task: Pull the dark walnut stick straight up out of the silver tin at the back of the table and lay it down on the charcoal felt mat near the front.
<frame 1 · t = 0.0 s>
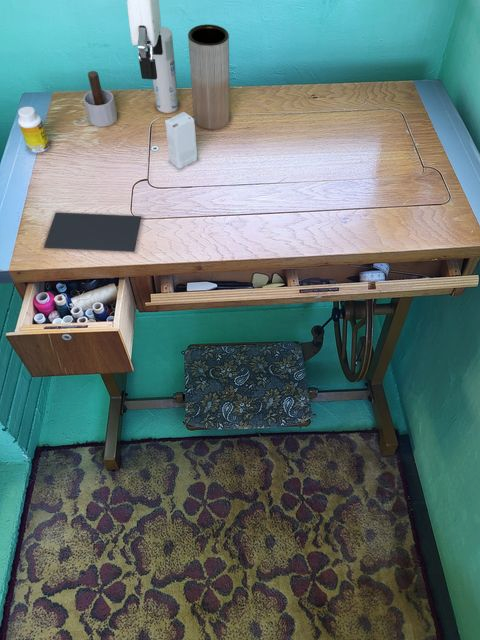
hand: (152, 66, 113), 26 cm above the table, tool pointing down, fingers open, 9 cm apart
spray can: (167, 107, 149), on the table
tin: (103, 118, 145), on the table
felt mat: (94, 232, 121), on the table
walnut stick: (102, 116, 144), resting on tin
supplement bottle: (39, 148, 137), on the table
cosmetic box: (183, 162, 136), on the table
planter: (212, 119, 147), on the table
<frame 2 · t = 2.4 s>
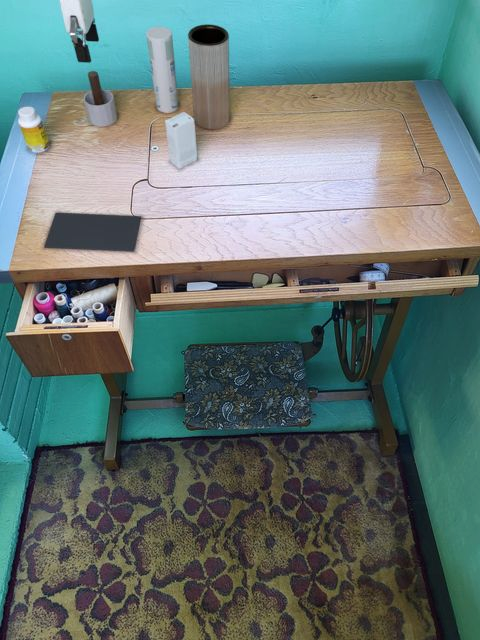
hand: (88, 51, 130), 18 cm above the table, tool pointing down, fingers open, 9 cm apart
nothing on the table moved.
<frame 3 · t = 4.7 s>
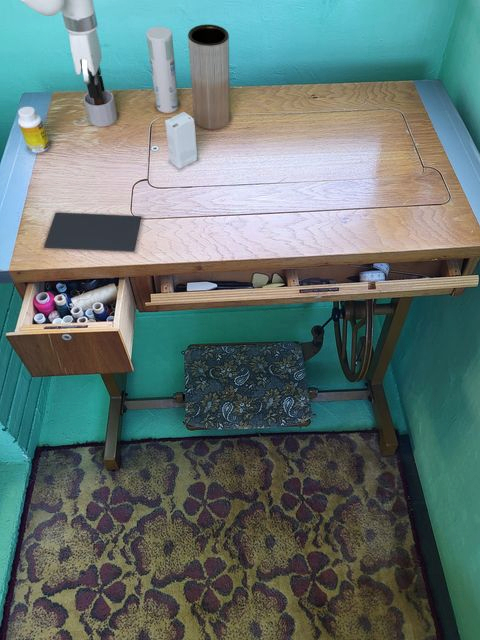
hand: (97, 93, 139), 7 cm above the table, tool pointing down, fingers closed on walnut stick, 2 cm apart
walnut stick: (102, 116, 144), point 1 cm above the table, touching gripper
everything else where it was.
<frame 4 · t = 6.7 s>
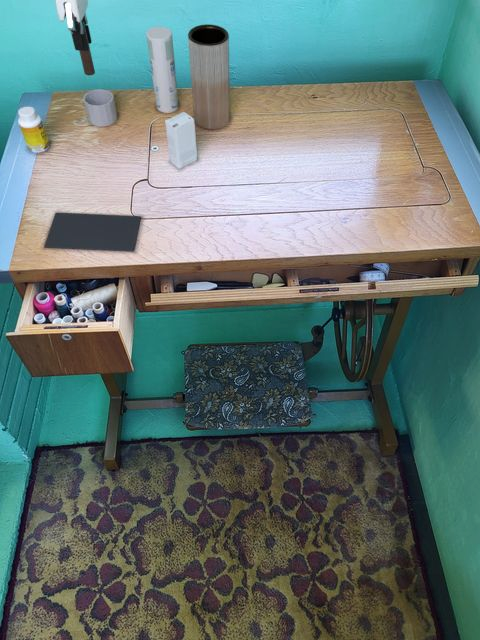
hand: (83, 45, 126), 21 cm above the table, tool pointing down, fingers closed on walnut stick, 2 cm apart
walnut stick: (89, 72, 132), point 14 cm above the table, touching gripper
everything else where it was.
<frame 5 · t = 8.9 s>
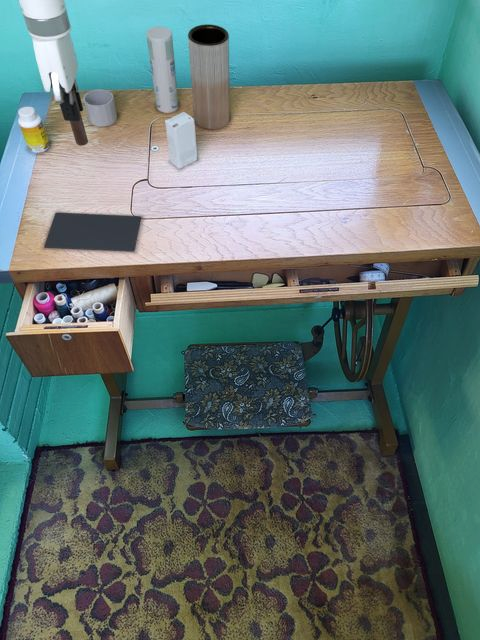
hand: (74, 114, 109), 22 cm above the table, tool pointing down, fingers closed on walnut stick, 2 cm apart
walnut stick: (82, 142, 115), point 15 cm above the table, touching gripper
everything else where it was.
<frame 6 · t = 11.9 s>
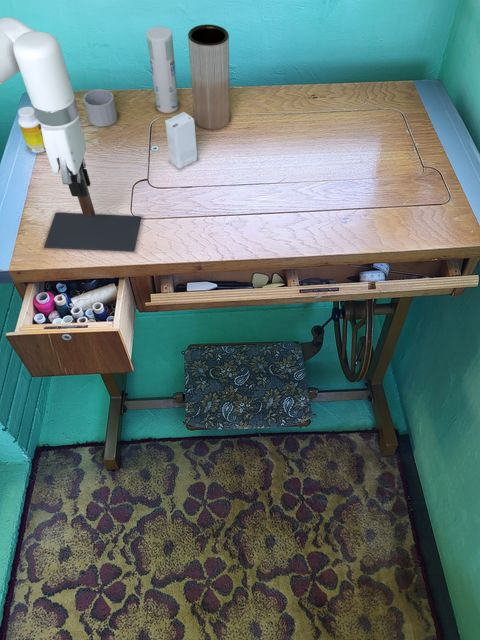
hand: (81, 189, 111), 12 cm above the table, tool pointing down, fingers closed on walnut stick, 2 cm apart
walnut stick: (89, 213, 116), point 6 cm above the table, touching gripper
everything else where it was.
when the fingers open (7 cm above the table, at t = 13.5 s): walnut stick stays where it is, resting on felt mat.
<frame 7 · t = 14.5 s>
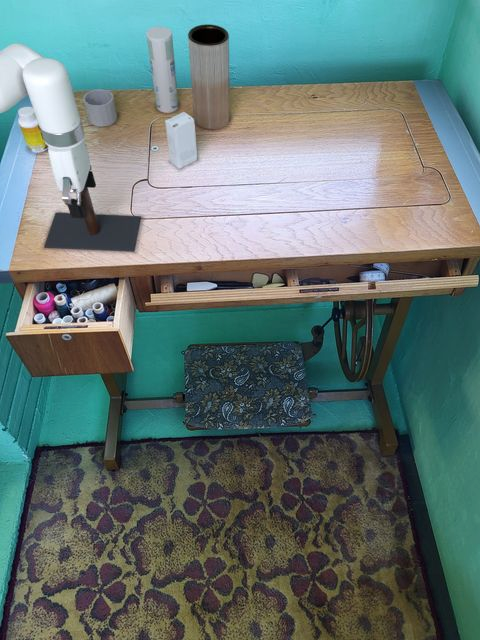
hand: (84, 201, 113), 9 cm above the table, tool pointing down, fingers open, 9 cm apart
walnut stick: (94, 231, 121), resting on felt mat
everything else where it was.
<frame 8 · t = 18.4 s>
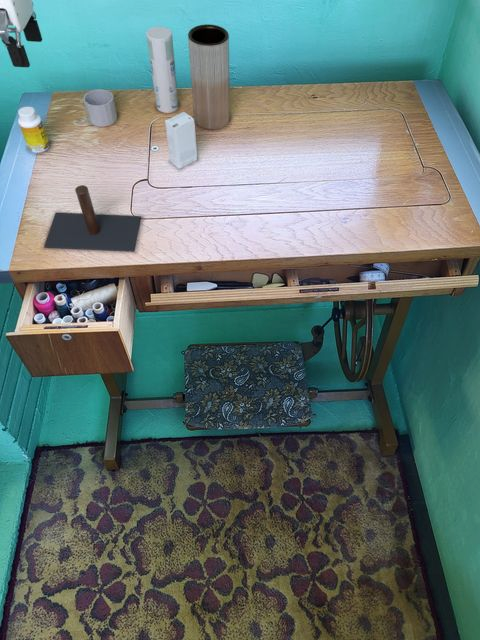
hand: (28, 53, 106), 30 cm above the table, tool pointing down, fingers open, 9 cm apart
nothing on the table moved.
at the end: walnut stick inside the target area on the felt mat (0.2 cm from its centre), point 0.5 cm above the felt mat's base; walnut stick touching felt mat; the gripper is holding nothing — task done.
